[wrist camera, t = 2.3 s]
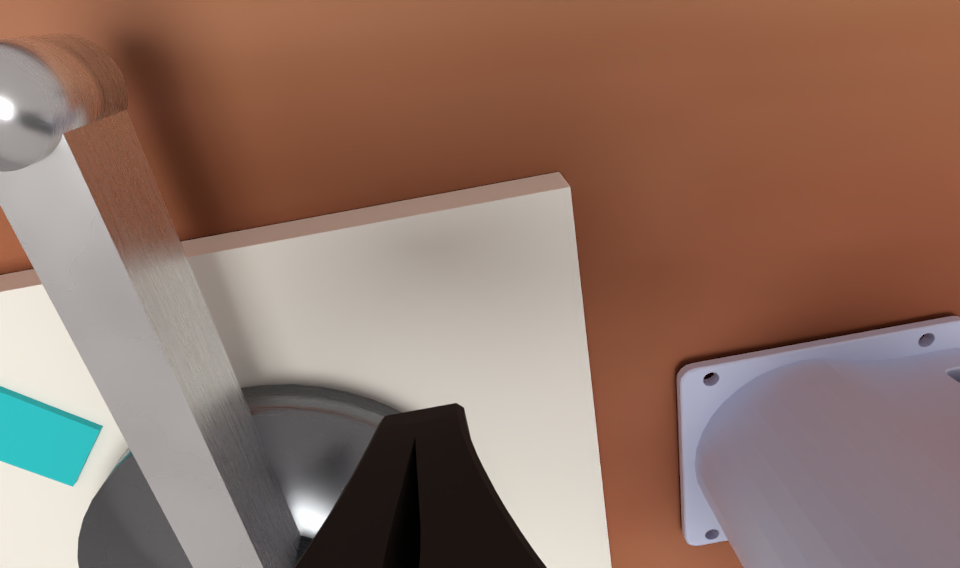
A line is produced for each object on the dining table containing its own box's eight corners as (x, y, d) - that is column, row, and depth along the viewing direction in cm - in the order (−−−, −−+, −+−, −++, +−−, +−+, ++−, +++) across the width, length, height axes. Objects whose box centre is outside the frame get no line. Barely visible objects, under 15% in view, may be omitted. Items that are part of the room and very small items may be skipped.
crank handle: (508, 626, 22) (524, 757, 19) (187, 683, 23) (136, 826, 19) (363, -21, 13) (334, -28, 9) (-179, 81, 13) (-431, 116, 9)
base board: (559, 172, 17) (571, 188, 16) (612, 634, 26) (623, 674, 24) (-141, 301, 17) (-197, 330, 16) (144, 717, 26) (126, 762, 24)
